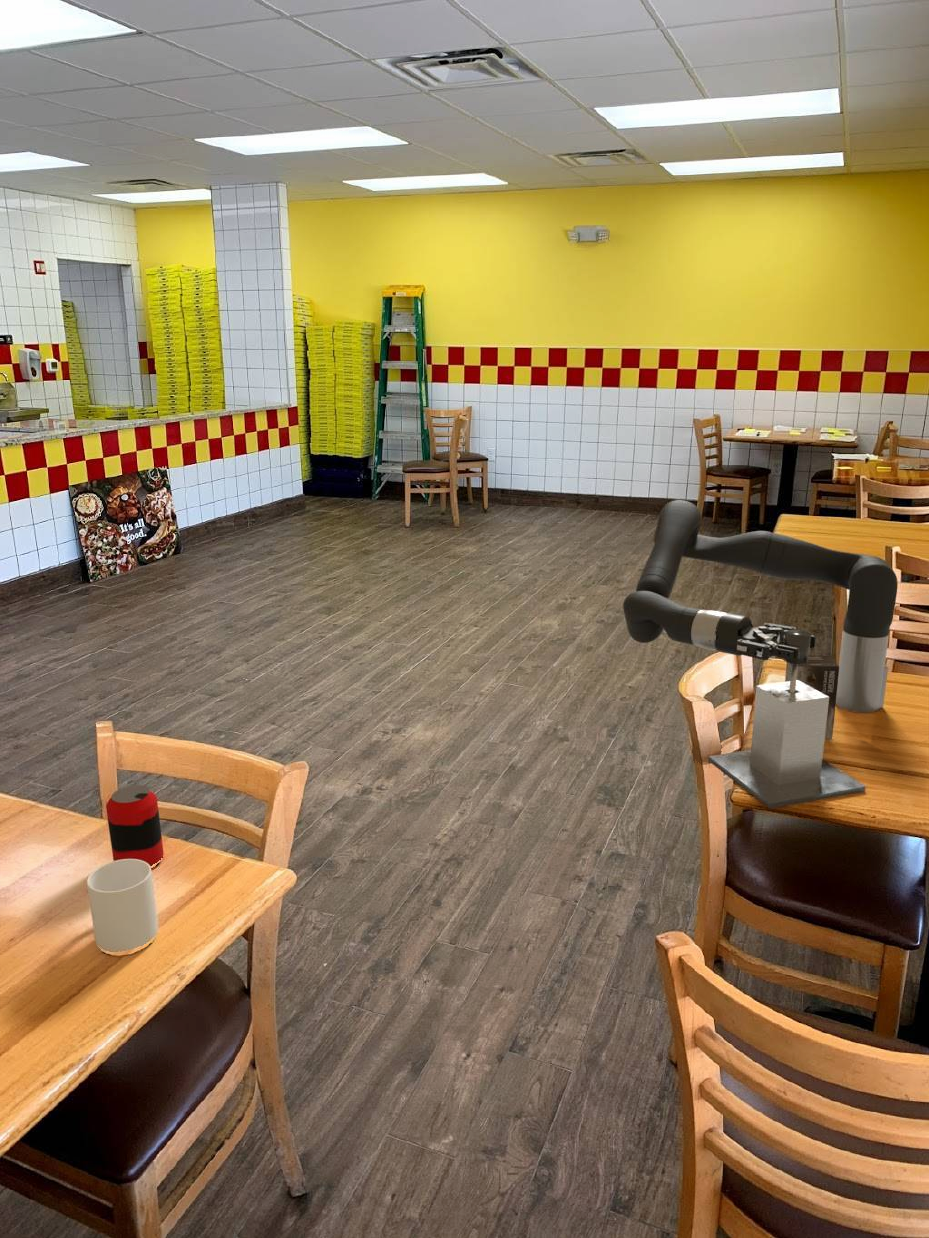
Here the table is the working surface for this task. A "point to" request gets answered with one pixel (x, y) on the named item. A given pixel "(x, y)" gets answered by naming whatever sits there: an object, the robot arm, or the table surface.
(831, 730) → the coffee box
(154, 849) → the soda can
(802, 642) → the plunger
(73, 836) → the table surface
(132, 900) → the cup
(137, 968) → the table surface
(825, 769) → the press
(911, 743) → the table surface
